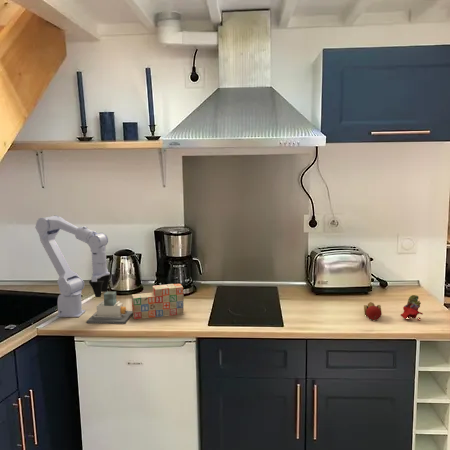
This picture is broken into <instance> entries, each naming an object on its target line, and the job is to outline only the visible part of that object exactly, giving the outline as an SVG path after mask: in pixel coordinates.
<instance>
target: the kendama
mask: <svg viewBox="0 0 450 450" xmlns="http://www.w3.org/2000/svg"><path fill="white" fill-rule="evenodd" d="M363 310H364V311H363V312H364V316H365V315H366V316H367V319H369V320H370V319H372V320H371V321H373V320H375V321H378V320H379V319H380V318H381V317H382V314H383V313H382V306H381V304H377V305H375V303H374V302H368V303H367V304H364V305H363Z"/></svg>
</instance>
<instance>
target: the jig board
mask: <svg viewBox="0 0 450 450" xmlns="http://www.w3.org/2000/svg"><path fill="white" fill-rule="evenodd" d="M131 317H133V313H132V310H127V309H126V313H125V314H123V315H122V316H97V311H96V312H95V313H93V314H92V315H91V316H90V317H89V318H88V319H86V324H103V325H104V324H105V325H106V324H111V325H115V324H116V325H126V323H127V322H129V320H130V318H131Z"/></svg>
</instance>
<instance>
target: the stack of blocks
mask: <svg viewBox="0 0 450 450" xmlns="http://www.w3.org/2000/svg"><path fill="white" fill-rule="evenodd" d="M184 297H185V296H184V287H183V285H182V284H181V283H168V284H159V285H157V284H156V285H152V292H145V293H135V294H131V311H132V313H133V315H132V317H133V319H134V320H138V319H148V318H149V319H150V318H151V319H152V318H158V317H160V318H161V317H168V316H179V315H184V314H185V311H184V300H185V298H184Z"/></svg>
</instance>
